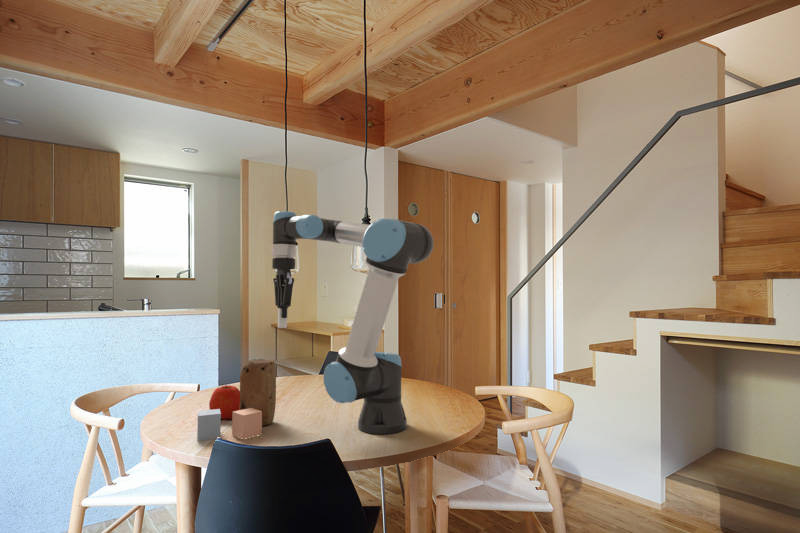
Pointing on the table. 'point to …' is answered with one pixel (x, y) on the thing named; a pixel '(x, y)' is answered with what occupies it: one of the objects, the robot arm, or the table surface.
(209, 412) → the slate block
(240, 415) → the terracotta block
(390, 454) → the table surface
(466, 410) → the table surface
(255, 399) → the brown long irregular lump
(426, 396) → the table surface
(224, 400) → the apple
